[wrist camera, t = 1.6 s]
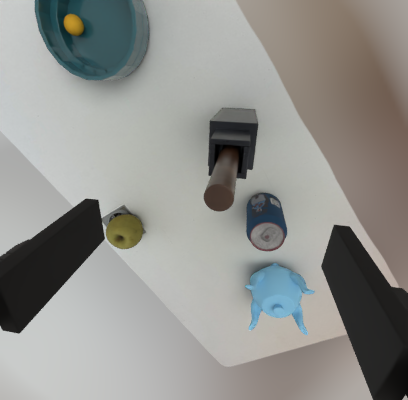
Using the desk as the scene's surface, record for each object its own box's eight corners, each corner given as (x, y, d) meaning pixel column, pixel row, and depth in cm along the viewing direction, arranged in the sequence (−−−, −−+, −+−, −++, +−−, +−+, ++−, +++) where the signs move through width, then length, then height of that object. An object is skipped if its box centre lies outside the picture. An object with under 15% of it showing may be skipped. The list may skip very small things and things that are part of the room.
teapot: (299, 299, 62) (308, 336, 53) (245, 295, 64) (245, 330, 55) (304, 257, 57) (315, 291, 48) (245, 255, 59) (245, 287, 50)
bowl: (146, -35, 38) (130, -54, 33) (153, 81, 46) (140, 81, 40) (51, -33, 41) (21, -50, 35) (71, 78, 48) (49, 78, 42)
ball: (85, 16, 42) (74, 11, 39) (89, 37, 43) (78, 34, 41) (69, 16, 42) (57, 11, 40) (73, 37, 44) (61, 34, 41)
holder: (255, 109, 45) (260, 132, 25) (251, 142, 47) (253, 187, 28) (222, 107, 46) (201, 129, 26) (220, 140, 48) (200, 182, 29)
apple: (149, 236, 61) (138, 254, 55) (119, 234, 62) (104, 252, 56) (145, 209, 58) (133, 225, 51) (113, 207, 59) (97, 223, 53)
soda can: (267, 225, 55) (271, 260, 44) (240, 209, 54) (238, 241, 43) (287, 201, 51) (297, 233, 41) (259, 184, 51) (262, 212, 40)
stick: (241, 138, 32) (235, 185, 17) (239, 154, 33) (232, 213, 18) (223, 136, 32) (204, 183, 18) (222, 153, 33) (203, 210, 19)
